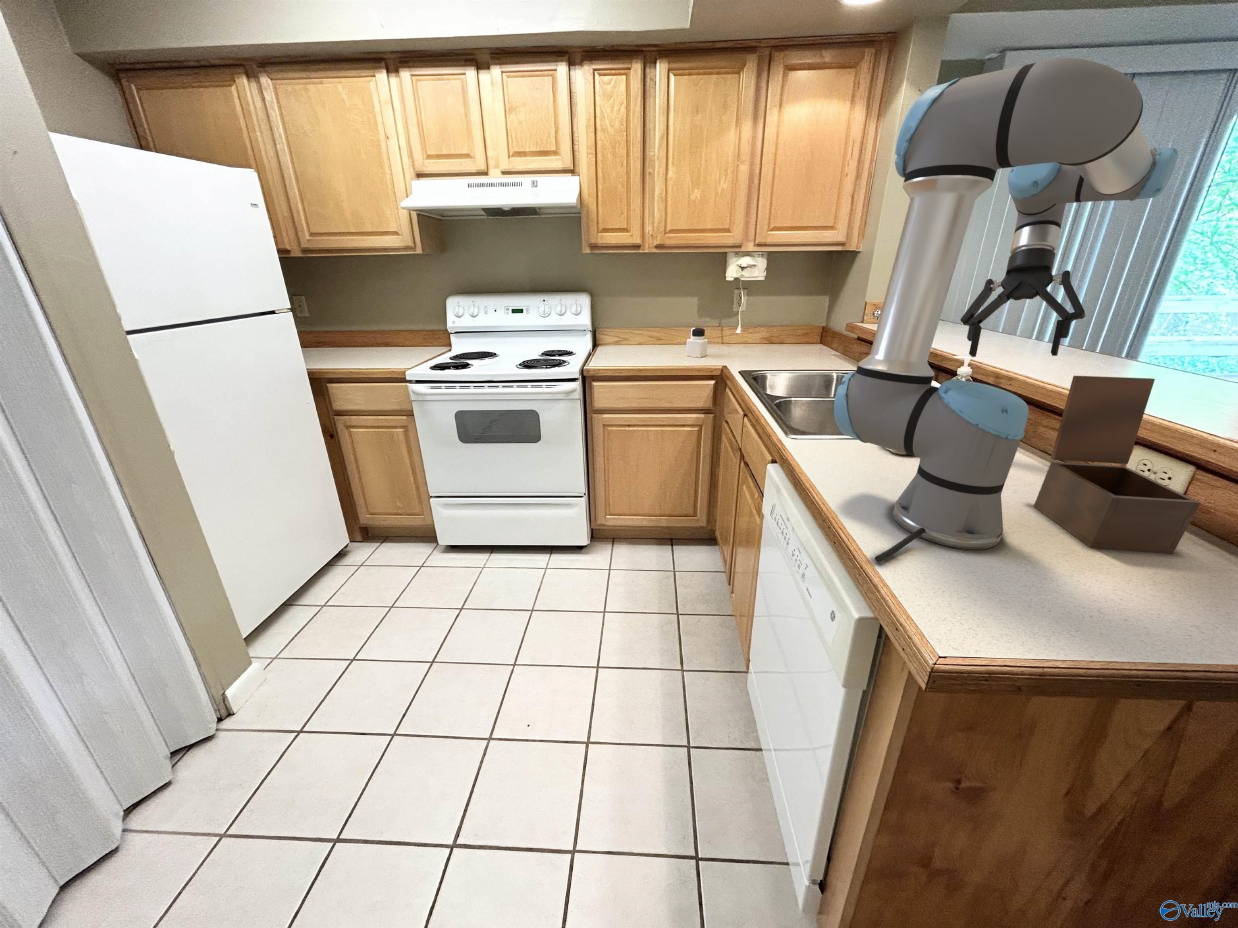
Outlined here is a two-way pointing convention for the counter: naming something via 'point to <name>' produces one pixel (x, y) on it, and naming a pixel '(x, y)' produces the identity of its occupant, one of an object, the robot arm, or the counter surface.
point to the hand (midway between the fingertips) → (1011, 355)
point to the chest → (1115, 507)
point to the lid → (1101, 419)
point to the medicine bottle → (697, 343)
